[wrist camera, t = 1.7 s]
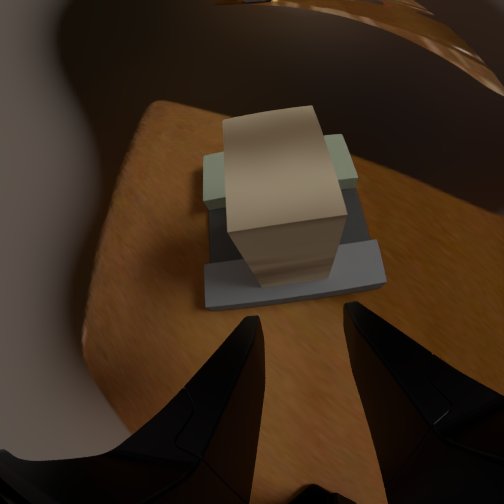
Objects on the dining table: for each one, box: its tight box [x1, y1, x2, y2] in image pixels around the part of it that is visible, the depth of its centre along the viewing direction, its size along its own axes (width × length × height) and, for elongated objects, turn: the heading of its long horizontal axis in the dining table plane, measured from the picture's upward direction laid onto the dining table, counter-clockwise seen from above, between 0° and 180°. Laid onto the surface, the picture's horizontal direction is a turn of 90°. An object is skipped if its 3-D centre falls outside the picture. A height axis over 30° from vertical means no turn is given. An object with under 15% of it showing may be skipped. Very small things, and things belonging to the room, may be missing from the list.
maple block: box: [223, 106, 348, 288], centre depth 17 cm, size 7×5×10 cm
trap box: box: [203, 134, 387, 311], centre depth 24 cm, size 15×14×2 cm
